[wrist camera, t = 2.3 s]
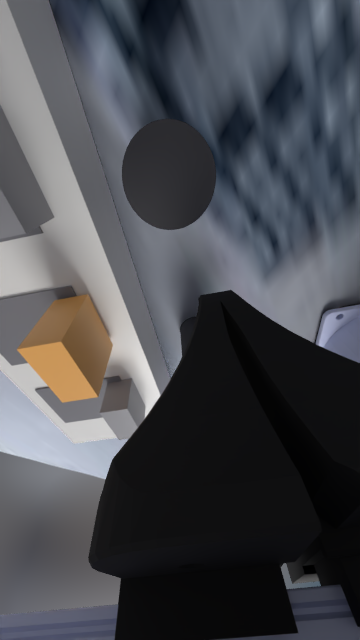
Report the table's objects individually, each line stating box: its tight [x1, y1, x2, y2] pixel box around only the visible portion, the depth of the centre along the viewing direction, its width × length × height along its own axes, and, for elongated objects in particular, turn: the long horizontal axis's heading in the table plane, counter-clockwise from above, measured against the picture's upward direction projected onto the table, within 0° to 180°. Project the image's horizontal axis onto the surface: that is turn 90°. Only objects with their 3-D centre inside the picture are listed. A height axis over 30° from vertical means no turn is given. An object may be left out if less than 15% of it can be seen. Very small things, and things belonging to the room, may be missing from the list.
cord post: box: [122, 119, 216, 230], centre depth 8 cm, size 2×2×6 cm
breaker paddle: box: [17, 294, 113, 403], centre depth 9 cm, size 2×3×3 cm, turn 10°
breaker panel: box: [0, 0, 171, 444], centre depth 12 cm, size 8×22×6 cm, turn 10°
